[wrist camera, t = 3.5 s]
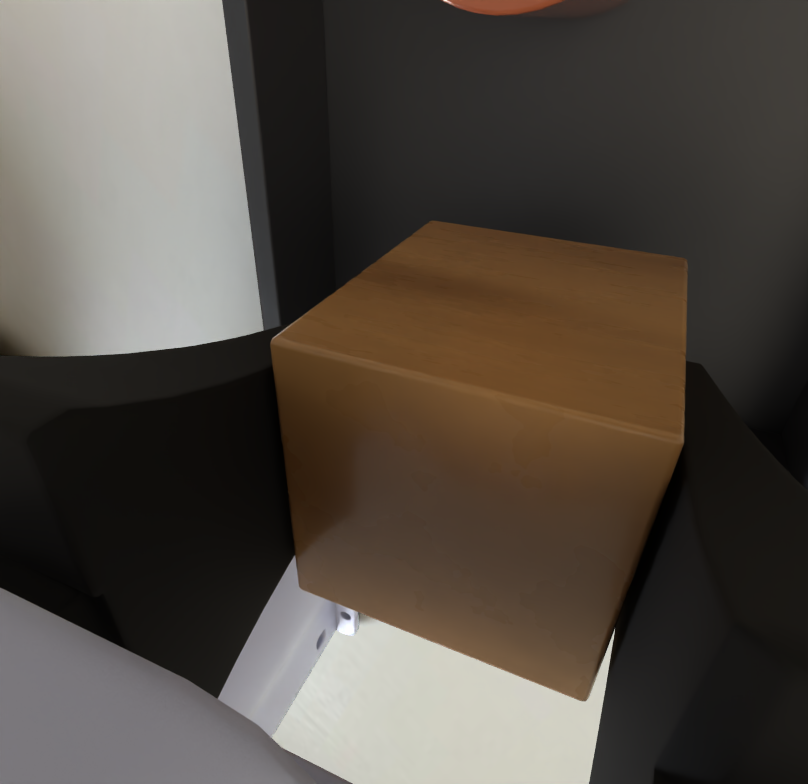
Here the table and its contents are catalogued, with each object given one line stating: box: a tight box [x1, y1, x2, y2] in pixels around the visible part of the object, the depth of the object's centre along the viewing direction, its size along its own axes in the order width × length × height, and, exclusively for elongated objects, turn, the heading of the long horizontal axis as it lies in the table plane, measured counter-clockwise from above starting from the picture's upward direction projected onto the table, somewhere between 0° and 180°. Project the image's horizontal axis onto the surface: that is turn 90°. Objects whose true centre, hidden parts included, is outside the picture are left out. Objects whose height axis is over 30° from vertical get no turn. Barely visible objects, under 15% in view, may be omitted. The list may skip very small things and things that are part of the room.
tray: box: [222, 0, 808, 490], centre depth 11 cm, size 15×14×4 cm
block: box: [270, 221, 688, 701], centre depth 9 cm, size 5×5×5 cm
